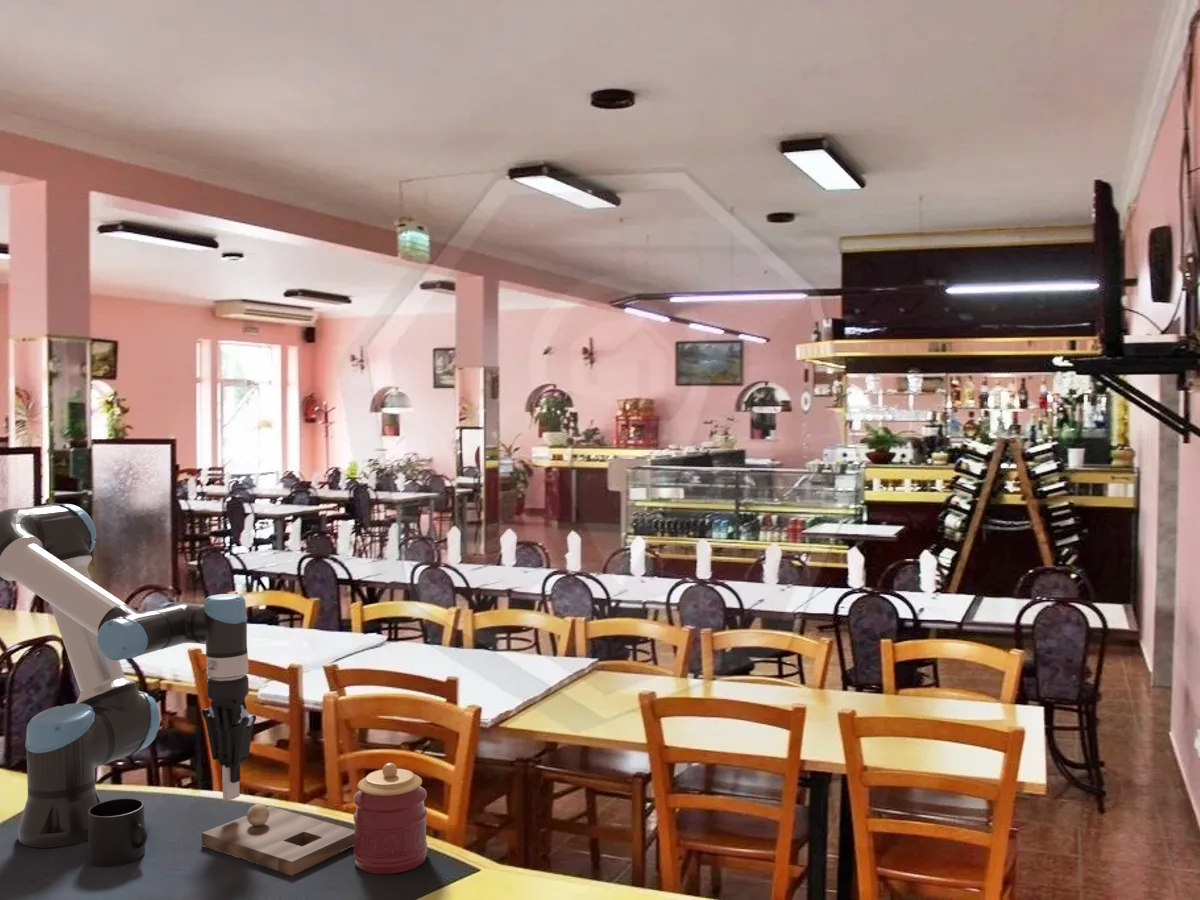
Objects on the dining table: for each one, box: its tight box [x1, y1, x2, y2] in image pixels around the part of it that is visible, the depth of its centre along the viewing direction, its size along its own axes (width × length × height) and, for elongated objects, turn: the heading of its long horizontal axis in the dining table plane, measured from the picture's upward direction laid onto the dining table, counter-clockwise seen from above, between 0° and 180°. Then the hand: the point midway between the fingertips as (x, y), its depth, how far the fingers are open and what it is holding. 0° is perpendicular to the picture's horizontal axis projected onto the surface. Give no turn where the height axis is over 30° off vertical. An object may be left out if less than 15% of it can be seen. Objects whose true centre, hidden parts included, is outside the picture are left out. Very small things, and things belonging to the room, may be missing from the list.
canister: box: [352, 762, 428, 875], centre depth 198 cm, size 13×13×18 cm
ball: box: [246, 803, 269, 826], centre depth 208 cm, size 4×4×4 cm
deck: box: [201, 805, 355, 877], centre depth 205 cm, size 24×16×2 cm, turn 58°
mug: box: [87, 797, 147, 867], centre depth 199 cm, size 9×12×9 cm
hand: (231, 797), depth 212 cm, fingers closed
